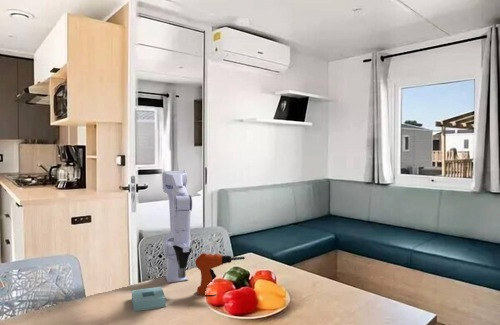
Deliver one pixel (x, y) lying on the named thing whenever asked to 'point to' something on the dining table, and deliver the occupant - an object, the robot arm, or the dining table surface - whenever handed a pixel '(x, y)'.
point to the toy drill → (210, 268)
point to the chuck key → (181, 272)
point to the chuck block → (148, 298)
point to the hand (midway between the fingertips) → (181, 266)
